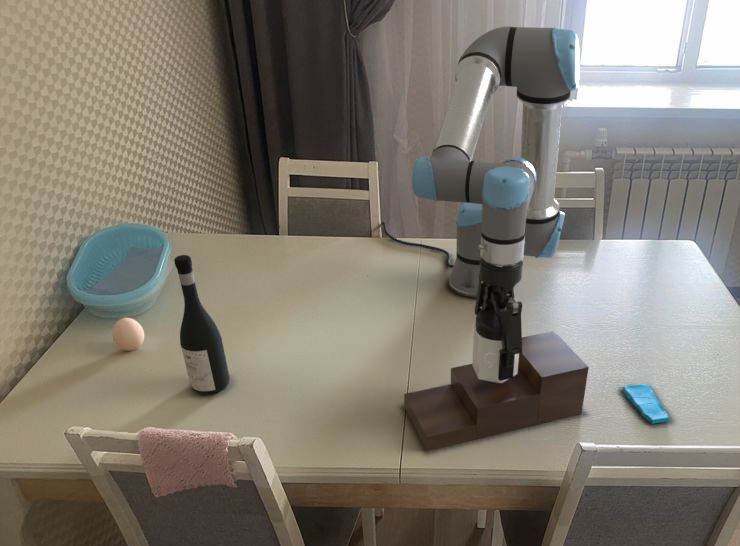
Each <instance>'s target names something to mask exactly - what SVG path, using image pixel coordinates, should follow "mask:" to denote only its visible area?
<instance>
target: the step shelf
mask: <svg viewBox="0 0 740 546" xmlns="http://www.w3.org/2000/svg"><path fill="white" fill-rule="evenodd" d="M588 375H589V366H588V364H586V362H584V361H583V360H582V358H581V357H579V355H578V354H577V353H576V352H575V351H574V350H573V349H572V348H571V347H570V346H569V345H568V344H567V342H565V341H564V340H563V339H562V337H561V336H560V335H559V334H558V333H557V332H556V331H555V330H552V331H547V332H542V333H538V334H537V333H536V334H532V335H526V336H522V353H519V361H518V373H517V375H515V376H513V378H511V379H508V380H506V381H505V382H503V383H496V382H491V381H485V380H480V379H478V377H477V375H476V373H475V370H474V368H473V366H472V363H469V364H464V365H463V364H462V365H459V366H455V367H450V383H449V384H444V385H439V386H435V387H431V388H430V387H429V388H425V389H421V390H416V391H411V392H407V393H404V394H403V401H404V403H403V406H404V409H405V412H406V413H407V415H408V417H409V419H410V421H411V423H412V425H413V427H414V430H415V431H416V433H417V435H418V437H419V438H420V441H421V442H422V444H423V447H424V448H425V450H426V452H430V451H432V450H438V449H442V448H445V447H450V446H454V445H457V444H461V443H462V444H463V443H466V442H470V441H474V440H478V439H483V438H487V437H491V436H496V435H500V434H503V433H507V432H512V431H517V430H520V429H526V428H529V427H533V426H536V425H541V424H545V423H550V422H554V421H558V420H562V419H566V418H570V417H574V416H579V415H582V413H583V407H584V401H585V395H586V394H585V393H586V389H587V380H588Z"/></svg>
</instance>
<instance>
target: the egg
mask: <svg viewBox="0 0 740 546" xmlns="http://www.w3.org/2000/svg"><path fill="white" fill-rule="evenodd" d="M111 335H112V336H111V337H112V341H113V342H114V344H115V346H117V347H118V348H119V349H121V350H123V351H127V352H128V351H129V352H131V351H135V350H138V349H139V348H140V347H141V346H142V345H143V343H144V341H145V331H144V328H143V326H142V325H141V324H140V323H139V322H138V321H137V320H135V319H134V318H131V317H122V318H120V319H118V320H117V321H116V322H115V324H114V325H113V327H112V331H111Z"/></svg>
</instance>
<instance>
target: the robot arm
mask: <svg viewBox="0 0 740 546" xmlns="http://www.w3.org/2000/svg"><path fill="white" fill-rule="evenodd" d="M579 45H580V44H579V38H578V35H577V33H576V32H575V31H574V30H572V29H568V28H567V29H566V28H565V29H564V28H557V27H556V26H555V27H528V26H527V27H526V26H525V27H524V26H519V27H518V26H501V27H496V28H493V29H491V30H488V31H487V32H485V33H483V34H482V35H480V36H479V37H477V38H476V39H475V40H474V41H472V43H470V45H469V46H468V47H467V48H466V49H464V51H463V53H462V54H461V56H460V57H459V60H458V62H457V65H456V68H455V70H454V80H455V85H454V88H453V91H452V94H451V97H450V100H449V103H448V106H447V109H446V112H445V113H444V118H443V120H442V123H441V126H440V129H439V132H438V135H437V138H436V140H435V143H434V147H433V149H432V152H431V156H429V155H427V156H419V157H417V158H416V159H415V160H414V161H413V166H412V170H411V189H412V192H413V194H414V196H415V197H416V198H419V199H423V200H430V201H434V202H437V201H438V202H439V201H440V202H452V203H461V204H460V206H459V207H458V209H457V218H456V222H455V223H456V256H455V260H454V263H453V264H452V263H451V254H450V253H449V252H448V251H447V250H445V249H443V248H440V247H436V246H432V245H427V244H423V243H416V242H409V241H404V240H401V239H398V238H396V237H394V236H392V235H391V234H390V232H389V231H388V229H387V222H386V221H382V222H381V225H382V226H383V231H384V233H385V235H386V236H387V237H388V238H389V239H391V240H392V241H394V242H396V243H398V244H402V245H405V246H411V247H419V248H424V249H429V250H433V251H438V252H441V253H443V254H445V255H446V256H447V259H446V260H447V261H446V264H447V266H448V267H449V268H451V271H450V273H449V278H448V286H449V288H450V289H451V290H452V291H453V292H455V293H456V294H458V295H460V296H463V297H467V298H473V299H476V300H475V305H474V314H475V316H477V314H478V313H479V312H480V311H481V310H483V309H484V310H487V309H493V308H494V310H495V315H496V316H498V320H499V327H500V329H501V333H500V334H501V342H502V349H501V350H499V353H500V358H499V374H498V379H499V380H500V381H501V380H506V379H511V378H513V371H514V358H515V354H519V353H522V337H523V334H522V333H523V331H522V329H523V328H522V310H523V302H522V301H521V300H519V301H517V300H515V291H514V290H515V289H514V288H515V286H516V285H517V284H519V283H520V282H521V280H522V277H523V265H524V262H523V259H524V256H525V257H533V258H534V257H535V258H537V259H538V258H545V259H546V258H547V259H549V258H550V259H551V258H552V257H554V256H555V255H556V253H557V250H558V247H559V241H560V238H561V233H562V229H563V226H564V222H565V217H566V213H565V212H563V211H561V210H560V203H559V202H558V201H557V200H556V199H555V191H556V182H557V181H556V180H557V168H558V159H559V158H558V157H559V148H560V135H561V123H562V113H563V105H564V104H565V103H566V102H567V101H568V100H570V98H571V94H572V92H574V91H576V90H577V89H578V87H579V83H580V81H579V80H580V46H579ZM499 87H513V88H516V98H517V99H518V100H519V102H521V103H522V118H521V134H520V135H521V137H520V141H521V142H520V157H515V156H514V157H511V158H508V159H505V160H504V161H502V162H493V161H481V160H473V159H474V158H473V157H474V154H475V151H476V147H477V144H478V141H479V137H480V134H481V131H482V127H483V125H484V124H483V123H484V121H485V117H486V113H487V110H488V107H489V104H490V100H491V97H492V95H493V94H495V92H496V91H497V90H498V89H499ZM397 239H398V240H397ZM500 309H505V310H504V311H500Z"/></svg>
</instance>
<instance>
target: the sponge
mask: <svg viewBox="0 0 740 546" xmlns="http://www.w3.org/2000/svg"><path fill="white" fill-rule="evenodd" d="M623 394H624V395H625V397H626V399H628V401H631V403H632V405H633V406H634V407H635V408H636V409H637V410H638V411H639V412H640V414H641V416H642V417H643V418H645V419H646V420H647V421H648V422H649V423H651V424H652V425H654V424H659V423H666V422H669V421H670V416H669V414H668V412H667V411H666V410H665V409H664V407H663V405H662V404H661V402H660V401H659V399H658V398H657V396H656V394H655V392H654V391H653V390H652V388H651V386H650V385H649V384H648V383H639V384H631V385H625V386H623Z"/></svg>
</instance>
